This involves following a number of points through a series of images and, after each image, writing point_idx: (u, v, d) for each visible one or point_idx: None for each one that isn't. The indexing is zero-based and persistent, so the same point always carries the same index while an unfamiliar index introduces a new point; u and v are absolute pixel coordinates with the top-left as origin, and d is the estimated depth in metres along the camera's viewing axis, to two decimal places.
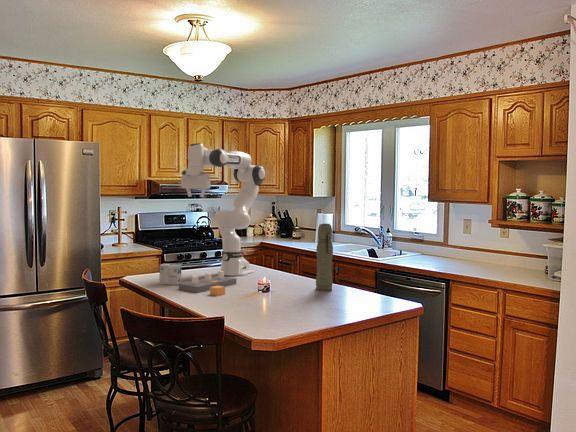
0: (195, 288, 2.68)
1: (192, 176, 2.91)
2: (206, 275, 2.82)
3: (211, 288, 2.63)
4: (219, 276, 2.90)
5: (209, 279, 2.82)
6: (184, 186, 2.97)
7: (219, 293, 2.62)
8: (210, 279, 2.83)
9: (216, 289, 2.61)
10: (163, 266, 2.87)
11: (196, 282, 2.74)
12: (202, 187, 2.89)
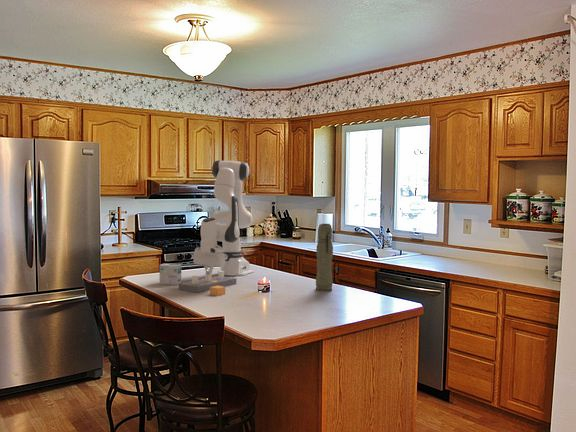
0: (195, 288, 2.68)
1: None
2: (206, 275, 2.82)
3: (211, 288, 2.63)
4: (219, 276, 2.90)
5: (209, 279, 2.82)
6: None
7: (219, 293, 2.62)
8: (210, 280, 2.83)
9: (216, 289, 2.61)
10: (163, 266, 2.87)
11: (196, 282, 2.74)
12: None
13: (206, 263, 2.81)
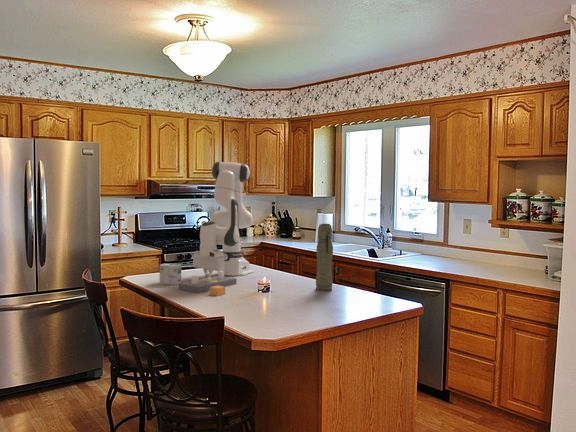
0: (195, 288, 2.68)
1: None
2: (206, 280, 2.82)
3: (211, 288, 2.63)
4: (219, 276, 2.90)
5: None
6: None
7: (219, 293, 2.62)
8: None
9: (216, 289, 2.61)
10: (163, 266, 2.87)
11: (196, 282, 2.74)
12: None
13: (205, 267, 2.82)
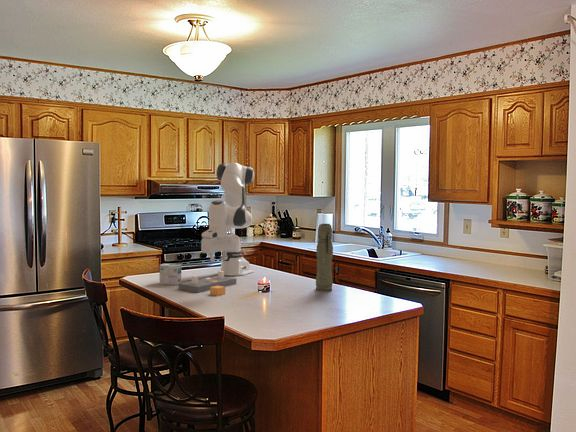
0: (195, 288, 2.68)
1: (223, 238, 2.62)
2: (206, 280, 2.82)
3: (211, 288, 2.63)
4: (219, 276, 2.90)
5: None
6: (210, 250, 2.56)
7: (219, 293, 2.62)
8: None
9: (216, 289, 2.61)
10: (163, 266, 2.87)
11: (196, 282, 2.74)
12: (229, 248, 2.68)
13: None
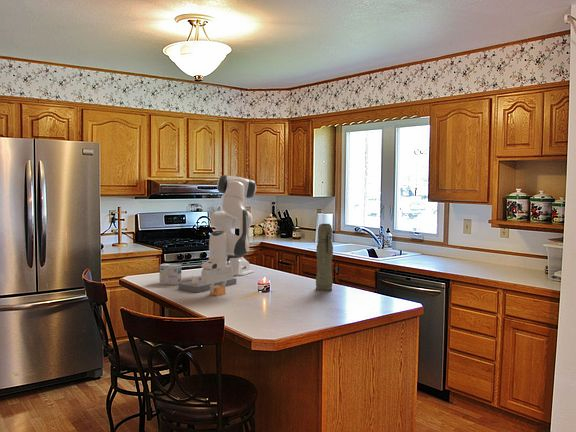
0: (195, 288, 2.68)
1: (222, 268, 2.62)
2: None
3: None
4: None
5: None
6: (210, 282, 2.57)
7: (219, 293, 2.62)
8: None
9: (216, 289, 2.61)
10: (163, 266, 2.87)
11: (196, 282, 2.74)
12: (229, 278, 2.69)
13: None
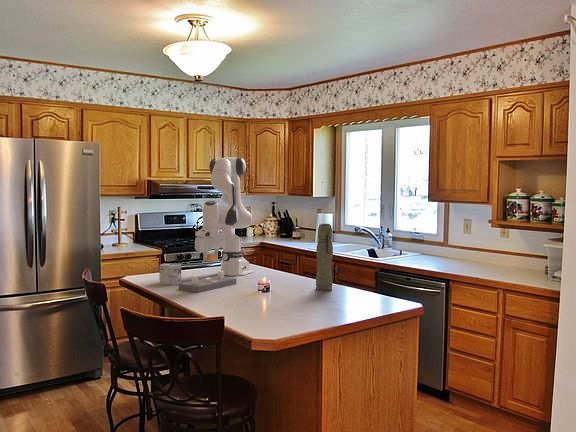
0: (195, 288, 2.68)
1: (215, 237, 2.77)
2: (206, 280, 2.82)
3: None
4: (219, 276, 2.90)
5: None
6: (203, 249, 2.72)
7: (212, 260, 2.76)
8: None
9: (209, 256, 2.76)
10: (163, 266, 2.87)
11: (196, 282, 2.74)
12: (221, 246, 2.83)
13: None
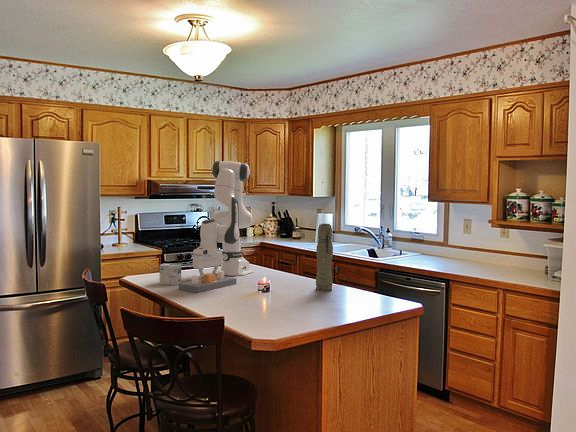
0: (195, 288, 2.68)
1: (213, 254, 2.81)
2: None
3: None
4: (219, 276, 2.90)
5: None
6: (201, 266, 2.76)
7: (210, 280, 2.80)
8: None
9: (207, 276, 2.80)
10: (163, 266, 2.87)
11: (196, 282, 2.74)
12: (219, 264, 2.87)
13: None
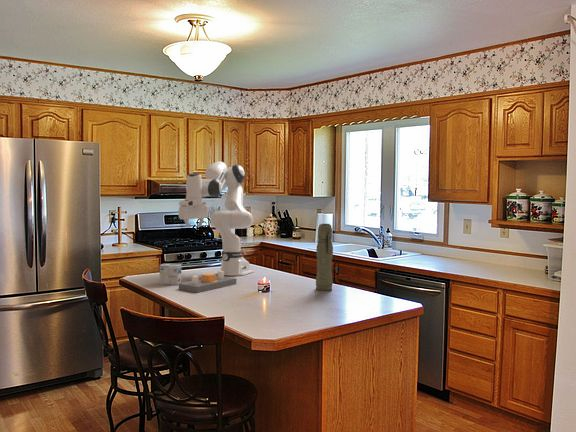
0: (195, 288, 2.68)
1: (198, 206, 2.93)
2: None
3: (202, 275, 2.82)
4: (219, 276, 2.90)
5: None
6: (186, 217, 2.87)
7: (210, 280, 2.80)
8: None
9: (207, 276, 2.80)
10: (163, 266, 2.87)
11: (196, 282, 2.74)
12: (205, 216, 2.99)
13: None
